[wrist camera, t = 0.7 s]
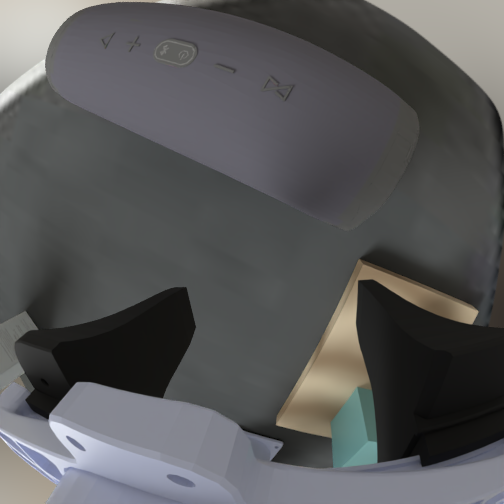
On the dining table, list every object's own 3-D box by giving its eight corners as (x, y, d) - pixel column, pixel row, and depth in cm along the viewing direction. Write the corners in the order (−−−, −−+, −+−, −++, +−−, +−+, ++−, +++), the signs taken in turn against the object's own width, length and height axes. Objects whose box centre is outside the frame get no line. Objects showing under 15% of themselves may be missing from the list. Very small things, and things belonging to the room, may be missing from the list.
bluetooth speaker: (386, 121, 18) (447, 83, 8) (331, 225, 21) (359, 262, 11) (146, 27, 18) (84, -21, 9) (100, 112, 21) (19, 94, 11)
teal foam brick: (373, 429, 23) (382, 477, 17) (330, 422, 23) (333, 474, 17) (401, 396, 22) (418, 445, 15) (356, 386, 22) (368, 441, 16)
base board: (379, 436, 25) (381, 445, 24) (277, 415, 26) (275, 425, 24) (471, 305, 20) (478, 311, 19) (358, 258, 21) (363, 264, 19)
